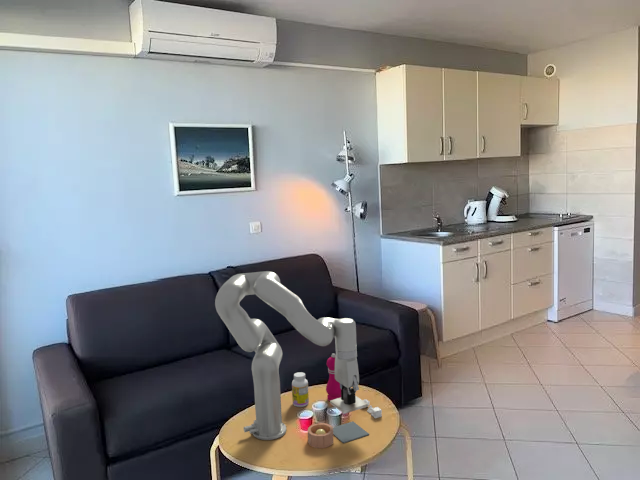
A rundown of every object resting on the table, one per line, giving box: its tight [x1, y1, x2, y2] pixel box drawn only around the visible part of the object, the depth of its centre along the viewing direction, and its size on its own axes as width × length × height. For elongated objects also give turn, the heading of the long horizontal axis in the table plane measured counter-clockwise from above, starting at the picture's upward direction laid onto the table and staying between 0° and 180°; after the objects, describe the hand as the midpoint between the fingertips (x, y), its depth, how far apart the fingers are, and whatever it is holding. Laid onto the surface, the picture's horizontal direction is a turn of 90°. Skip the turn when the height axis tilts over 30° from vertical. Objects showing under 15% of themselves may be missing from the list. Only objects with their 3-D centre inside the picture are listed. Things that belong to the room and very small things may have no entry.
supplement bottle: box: [291, 371, 310, 408], centre depth 217 cm, size 7×7×13 cm
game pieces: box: [362, 398, 383, 419], centre depth 210 cm, size 12×3×3 cm, turn 25°
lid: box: [329, 387, 369, 415], centre depth 192 cm, size 10×10×6 cm
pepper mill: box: [325, 353, 342, 402], centre depth 220 cm, size 7×7×20 cm
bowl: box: [307, 422, 334, 449], centre depth 189 cm, size 9×9×4 cm
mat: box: [332, 420, 370, 444], centre depth 194 cm, size 11×11×1 cm
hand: (348, 400), depth 192 cm, fingers closed on lid, 3 cm apart
